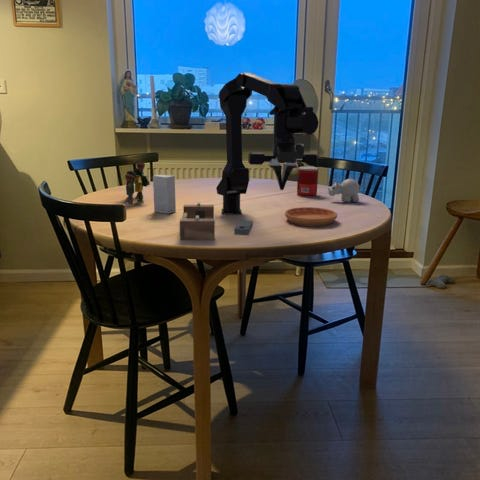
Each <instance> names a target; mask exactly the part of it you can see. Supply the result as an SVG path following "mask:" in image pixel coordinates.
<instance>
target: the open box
mask: <svg viewBox="0 0 480 480" xmlns="http://www.w3.org/2000/svg"><path fill="white" fill-rule="evenodd" d="M182 213H183V214H182V216H181V218H180V219H179V240H180V241H192V240H194V241H196V240H198V241H200V240H201V241H205V240H206V241H207V240H209V241H214V240H215V237H216V236H215V235H216V234H215V232H216V230H215V228H216V227H215V224H216V223H215V206H214V204H201V202H200V201H197V204H183V212H182Z"/></svg>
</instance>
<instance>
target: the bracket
mask: <svg viewBox="0 0 480 480" xmlns="http://www.w3.org/2000/svg"><path fill="white" fill-rule="evenodd" d="M253 222H254V221H253V220H247V219H245V220H243V219H239V220H238V222H237V224H236V226H235V227H234V230H233V231H234V233H235V234H234V235H249V234H250V232H251V229H252V227H253Z"/></svg>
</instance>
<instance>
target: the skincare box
mask: <svg viewBox="0 0 480 480" xmlns="http://www.w3.org/2000/svg"><path fill="white" fill-rule="evenodd" d="M175 179H176V177H175V175H169V174H168V175H167V174H156V175H153V176H152V188H153V209H154V210H153V211H154V212H155V213H161V214H166V215H167V214H172V213H176V210H177V209H176V205H177V204H176V181H175Z"/></svg>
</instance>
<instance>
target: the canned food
mask: <svg viewBox="0 0 480 480" xmlns="http://www.w3.org/2000/svg"><path fill="white" fill-rule="evenodd" d="M318 181H319V168H318V167H316V166H299V167H298V166H297V187H296V193H297V196H299V195H300V197H306V196H311V197H316V196H317V194H318V183H319V182H318ZM315 195H316V196H315Z"/></svg>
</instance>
